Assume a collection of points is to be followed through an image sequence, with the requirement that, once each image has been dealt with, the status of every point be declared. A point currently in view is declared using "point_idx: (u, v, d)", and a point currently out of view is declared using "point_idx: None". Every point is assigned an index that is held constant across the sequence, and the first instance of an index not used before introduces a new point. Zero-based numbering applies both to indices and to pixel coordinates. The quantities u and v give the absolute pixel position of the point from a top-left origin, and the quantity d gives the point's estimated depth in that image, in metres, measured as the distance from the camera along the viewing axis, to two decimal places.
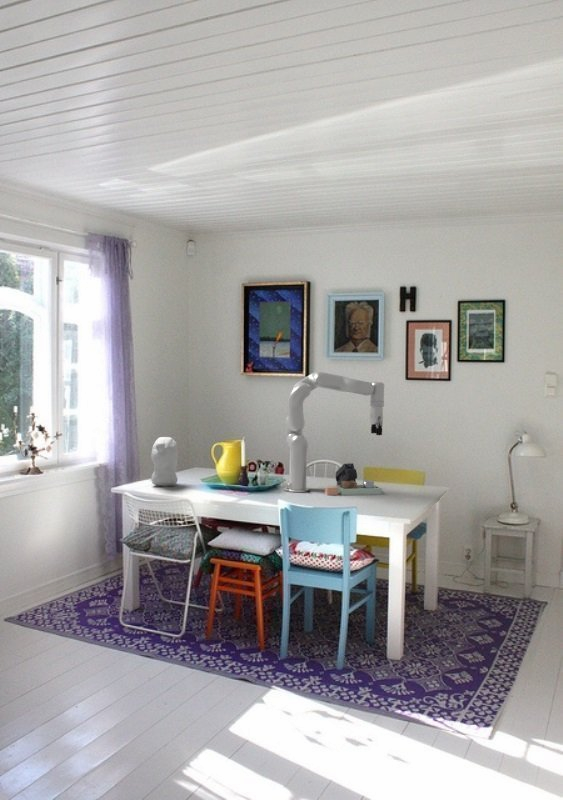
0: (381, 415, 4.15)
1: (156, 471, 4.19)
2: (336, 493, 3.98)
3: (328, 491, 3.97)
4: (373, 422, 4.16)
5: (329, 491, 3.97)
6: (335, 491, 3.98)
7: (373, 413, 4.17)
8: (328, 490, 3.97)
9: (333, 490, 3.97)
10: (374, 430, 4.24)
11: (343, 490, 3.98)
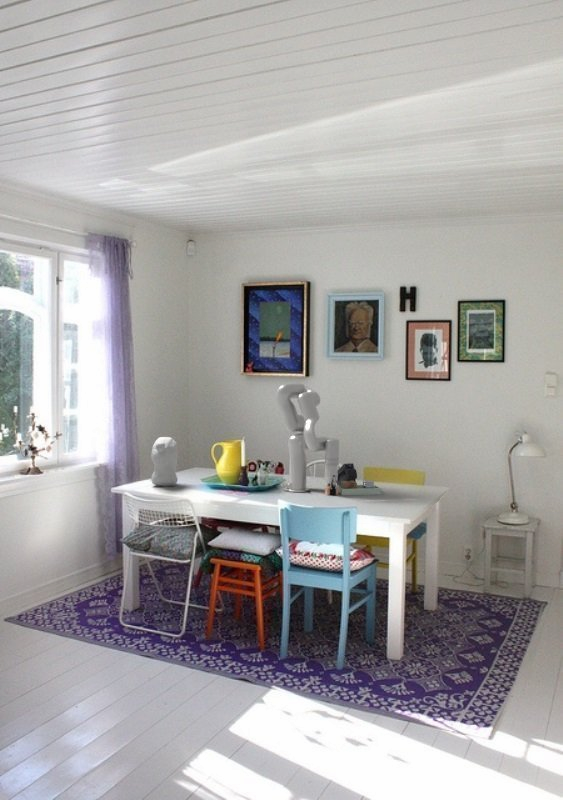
0: (336, 474, 3.95)
1: (156, 471, 4.19)
2: (336, 493, 3.98)
3: (328, 491, 3.97)
4: (327, 481, 3.96)
5: (329, 491, 3.97)
6: None
7: (327, 471, 3.96)
8: (328, 490, 3.97)
9: None
10: None
11: (343, 490, 3.98)
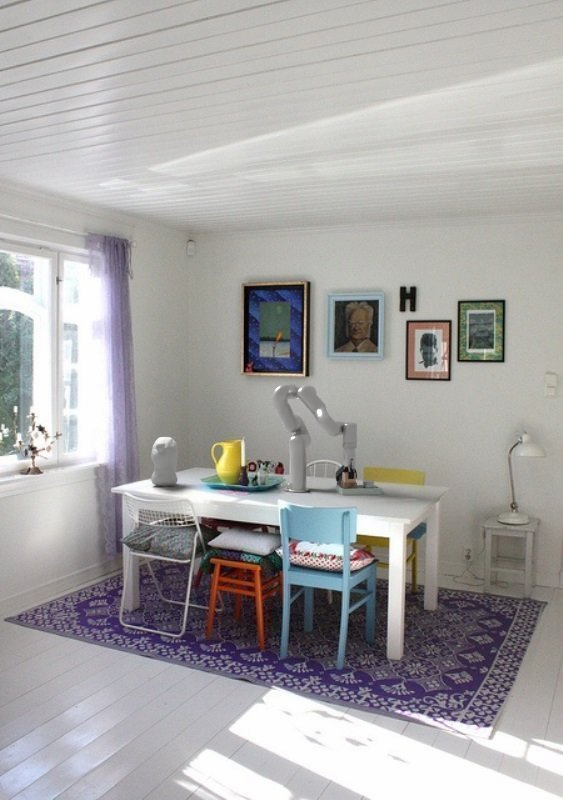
0: (353, 457, 3.99)
1: (156, 471, 4.19)
2: (354, 479, 4.02)
3: (346, 477, 4.01)
4: (345, 464, 4.01)
5: (347, 477, 4.01)
6: None
7: (345, 455, 4.01)
8: (346, 476, 4.01)
9: None
10: None
11: (343, 490, 3.98)
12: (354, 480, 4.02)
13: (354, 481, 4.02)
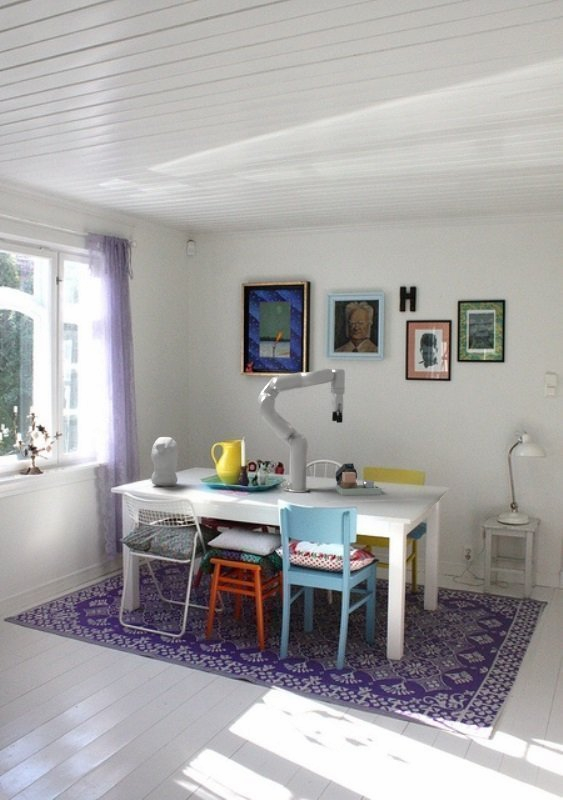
0: (341, 402, 4.10)
1: (156, 471, 4.19)
2: (354, 479, 4.02)
3: (346, 477, 4.01)
4: (333, 409, 4.12)
5: (347, 477, 4.01)
6: (353, 477, 4.02)
7: (333, 400, 4.12)
8: (346, 476, 4.01)
9: (350, 476, 4.02)
10: (335, 418, 4.20)
11: (343, 490, 3.98)
12: (354, 480, 4.02)
13: (354, 481, 4.02)
